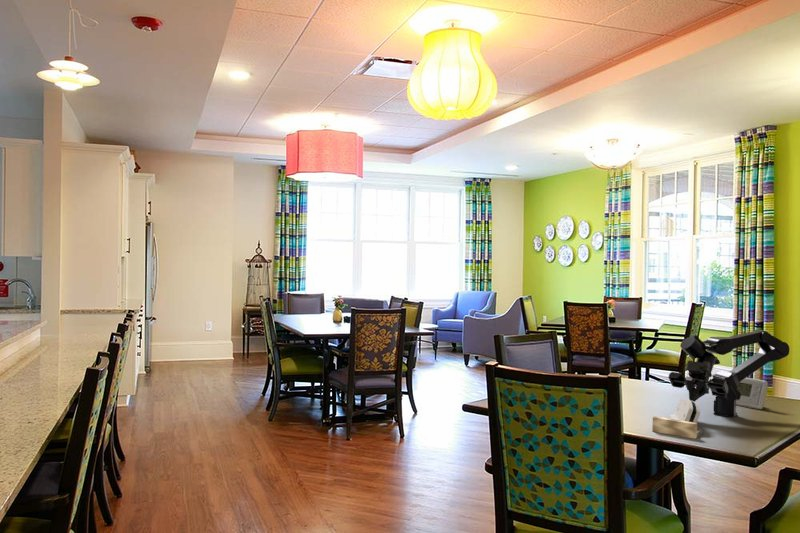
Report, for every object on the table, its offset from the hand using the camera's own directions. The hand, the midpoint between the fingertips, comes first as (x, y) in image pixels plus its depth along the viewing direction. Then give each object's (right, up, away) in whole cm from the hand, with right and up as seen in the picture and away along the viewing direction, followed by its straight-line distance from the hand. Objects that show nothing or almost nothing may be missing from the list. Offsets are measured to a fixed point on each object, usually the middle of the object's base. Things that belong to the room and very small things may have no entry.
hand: (690, 402), depth 227 cm
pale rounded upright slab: (-5, -7, -6) cm, 10 cm away
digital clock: (+32, -7, +27) cm, 43 cm away
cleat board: (-11, -7, -14) cm, 19 cm away
